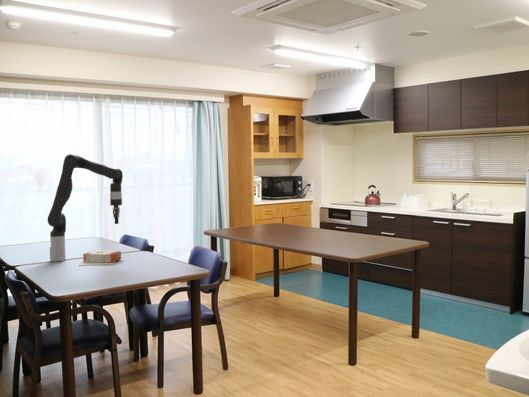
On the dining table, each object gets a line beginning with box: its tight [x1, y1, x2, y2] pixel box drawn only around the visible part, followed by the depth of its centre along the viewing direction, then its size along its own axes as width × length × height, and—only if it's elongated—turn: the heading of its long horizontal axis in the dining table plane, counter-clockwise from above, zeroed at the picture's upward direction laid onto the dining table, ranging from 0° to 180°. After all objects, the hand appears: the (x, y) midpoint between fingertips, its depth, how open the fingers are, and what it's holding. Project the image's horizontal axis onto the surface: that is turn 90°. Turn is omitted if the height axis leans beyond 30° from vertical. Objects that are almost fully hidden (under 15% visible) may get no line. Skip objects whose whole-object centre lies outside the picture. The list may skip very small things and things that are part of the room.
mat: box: [78, 261, 116, 267], centre depth 332 cm, size 21×18×1 cm
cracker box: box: [82, 250, 122, 263], centre depth 336 cm, size 14×6×21 cm
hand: (116, 223), depth 332 cm, fingers closed
